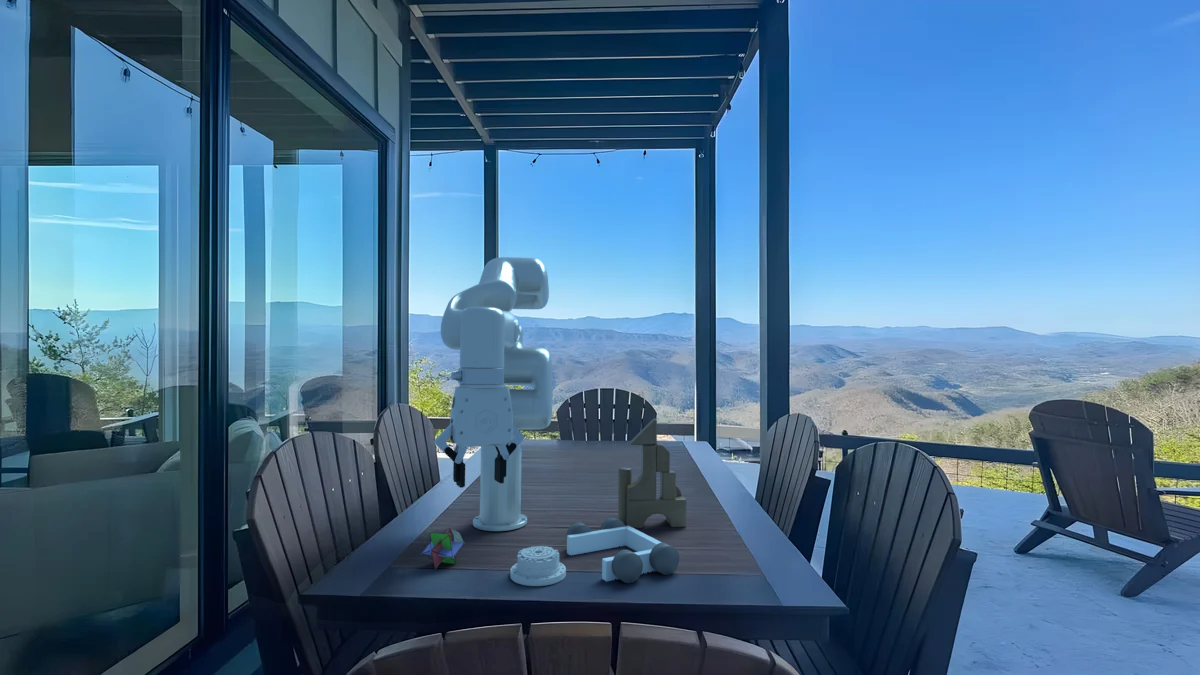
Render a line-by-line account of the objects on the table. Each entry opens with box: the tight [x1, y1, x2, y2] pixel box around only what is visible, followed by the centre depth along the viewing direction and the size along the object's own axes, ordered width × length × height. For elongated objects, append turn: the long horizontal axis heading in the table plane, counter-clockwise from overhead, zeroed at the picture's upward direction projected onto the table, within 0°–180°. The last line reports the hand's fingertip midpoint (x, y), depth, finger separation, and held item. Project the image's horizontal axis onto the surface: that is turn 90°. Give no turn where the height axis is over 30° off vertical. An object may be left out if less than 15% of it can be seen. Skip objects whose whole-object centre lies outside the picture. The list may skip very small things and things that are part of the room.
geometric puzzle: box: [420, 527, 465, 570], centre depth 104 cm, size 7×7×8 cm
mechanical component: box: [509, 545, 567, 587], centre depth 99 cm, size 10×4×10 cm
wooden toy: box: [617, 418, 687, 529], centre depth 132 cm, size 16×7×25 cm, turn 96°
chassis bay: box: [565, 517, 680, 584], centre depth 107 cm, size 21×14×5 cm
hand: (480, 482), depth 94 cm, fingers open, 6 cm apart
